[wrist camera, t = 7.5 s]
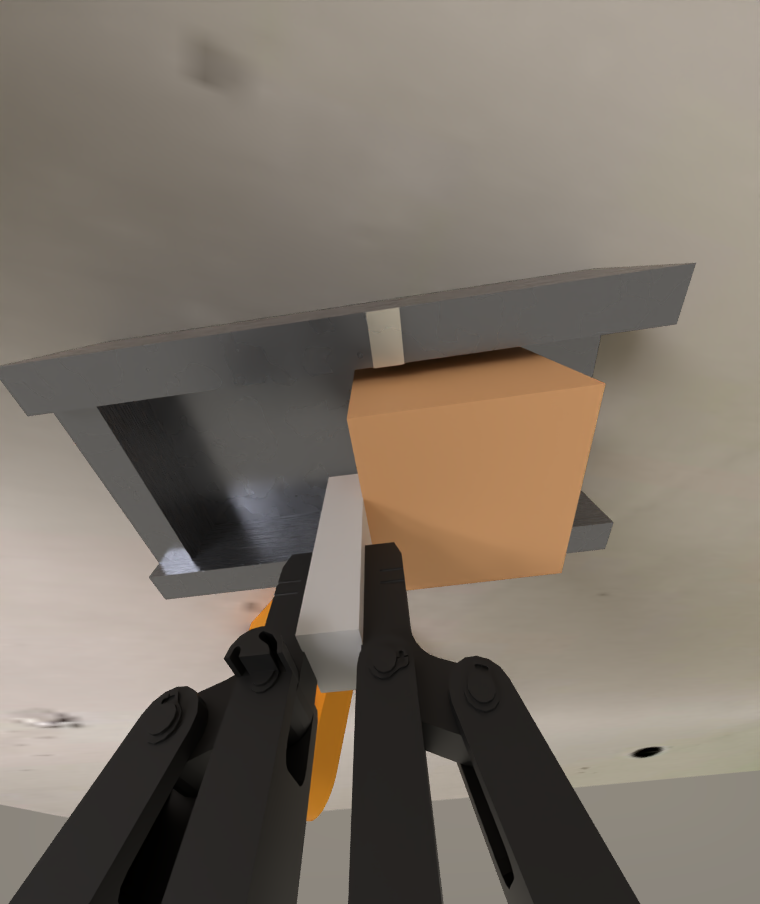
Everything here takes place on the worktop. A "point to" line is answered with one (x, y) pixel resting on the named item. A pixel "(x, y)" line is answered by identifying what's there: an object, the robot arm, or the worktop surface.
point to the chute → (298, 408)
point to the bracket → (323, 738)
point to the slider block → (473, 462)
